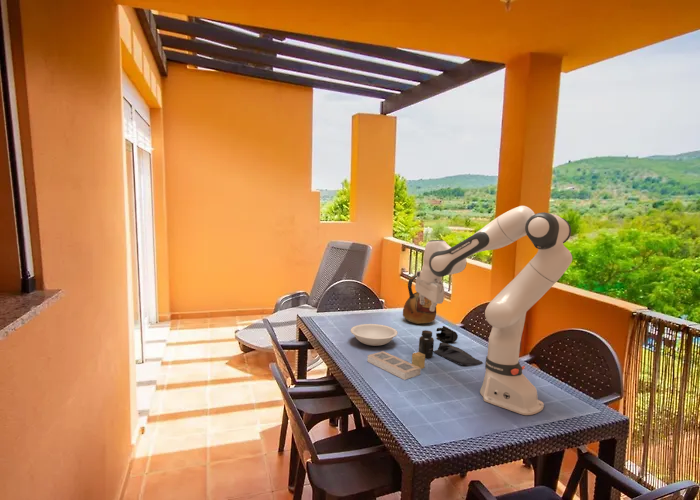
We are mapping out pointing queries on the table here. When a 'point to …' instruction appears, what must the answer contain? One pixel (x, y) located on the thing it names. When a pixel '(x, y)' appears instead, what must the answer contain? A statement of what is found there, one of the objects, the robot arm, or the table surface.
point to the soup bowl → (373, 334)
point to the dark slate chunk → (456, 355)
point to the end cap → (446, 335)
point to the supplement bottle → (426, 344)
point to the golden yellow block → (418, 359)
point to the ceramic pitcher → (417, 307)
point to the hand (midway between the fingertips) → (426, 307)
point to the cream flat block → (394, 365)
